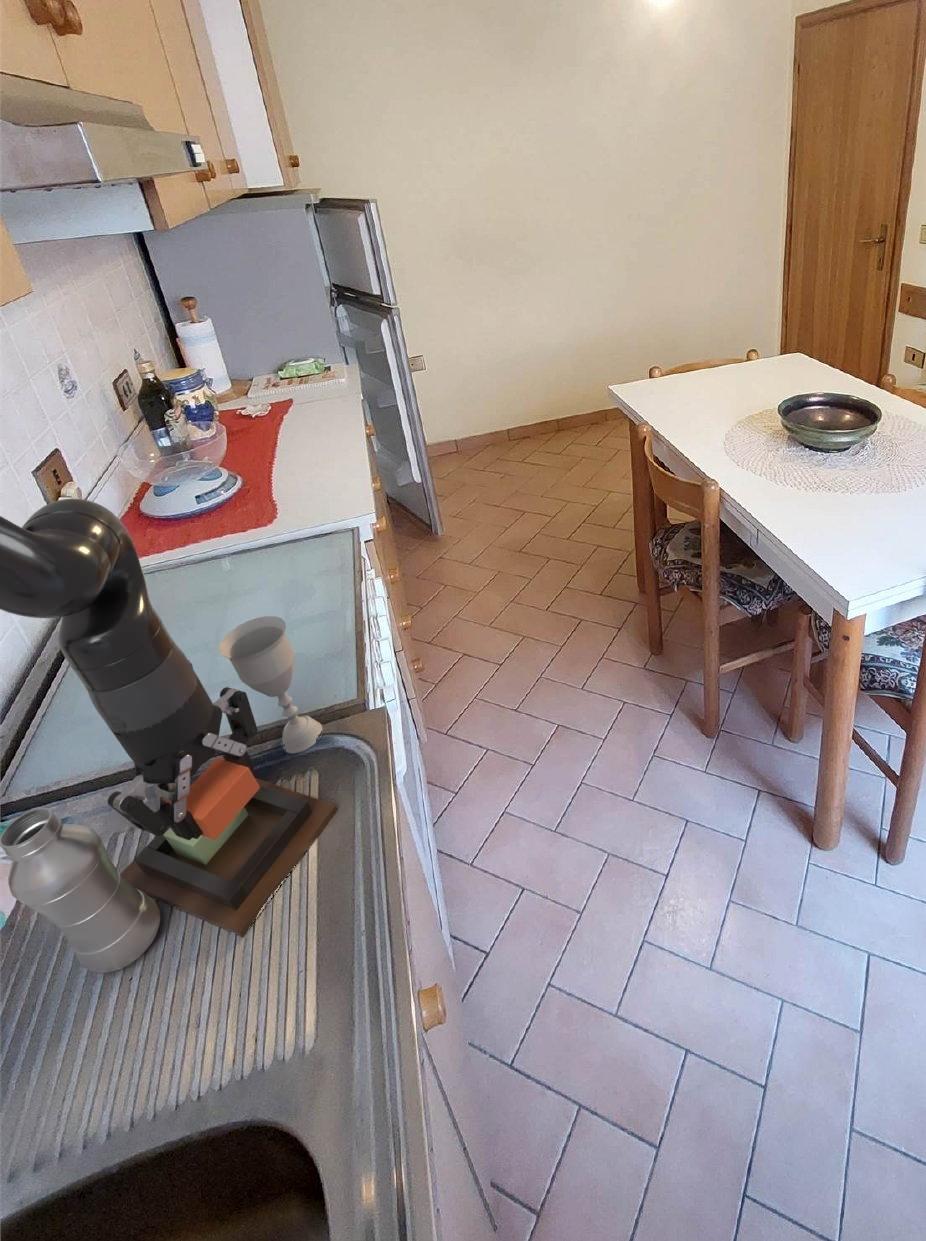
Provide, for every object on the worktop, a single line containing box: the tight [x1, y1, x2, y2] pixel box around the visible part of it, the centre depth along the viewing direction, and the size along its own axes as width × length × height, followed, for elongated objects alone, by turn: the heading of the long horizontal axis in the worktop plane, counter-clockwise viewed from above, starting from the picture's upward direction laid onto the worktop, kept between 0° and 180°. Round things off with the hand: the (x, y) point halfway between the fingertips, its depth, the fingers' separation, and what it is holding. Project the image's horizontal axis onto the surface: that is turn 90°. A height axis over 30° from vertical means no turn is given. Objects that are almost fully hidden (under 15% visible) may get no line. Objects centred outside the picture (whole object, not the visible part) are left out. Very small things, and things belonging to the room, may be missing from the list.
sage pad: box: [164, 807, 249, 865], centre depth 75 cm, size 6×4×4 cm
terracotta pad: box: [186, 757, 260, 840], centre depth 70 cm, size 6×4×4 cm
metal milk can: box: [0, 807, 161, 974], centre depth 63 cm, size 6×7×20 cm
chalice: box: [218, 615, 323, 754], centre depth 84 cm, size 7×7×18 cm
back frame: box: [120, 777, 338, 938], centre depth 75 cm, size 18×14×3 cm
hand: (220, 804), depth 71 cm, fingers closed on terracotta pad, 6 cm apart
